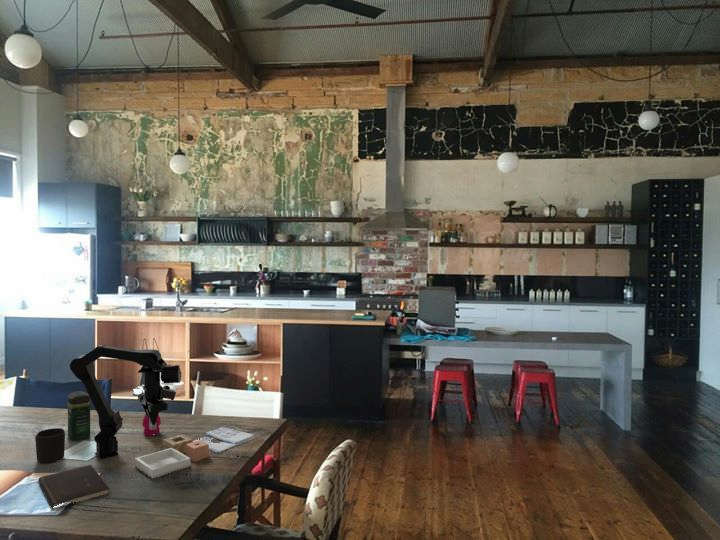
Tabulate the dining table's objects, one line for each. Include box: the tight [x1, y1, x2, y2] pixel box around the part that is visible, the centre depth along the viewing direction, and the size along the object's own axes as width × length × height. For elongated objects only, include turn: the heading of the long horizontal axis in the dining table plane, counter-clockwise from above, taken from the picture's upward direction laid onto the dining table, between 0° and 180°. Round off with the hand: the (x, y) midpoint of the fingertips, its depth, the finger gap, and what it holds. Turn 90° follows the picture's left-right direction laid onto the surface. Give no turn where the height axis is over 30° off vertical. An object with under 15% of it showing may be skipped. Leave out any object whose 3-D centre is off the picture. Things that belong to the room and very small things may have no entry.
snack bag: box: [193, 426, 255, 454], centre depth 211 cm, size 19×20×2 cm
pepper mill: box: [141, 412, 162, 436], centre depth 218 cm, size 7×7×20 cm
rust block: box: [185, 440, 210, 462], centre depth 194 cm, size 6×6×5 cm
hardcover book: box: [37, 464, 110, 509], centre depth 169 cm, size 16×23×2 cm
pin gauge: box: [149, 418, 156, 430], centre depth 197 cm, size 2×2×8 cm
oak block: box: [162, 433, 194, 454], centre depth 201 cm, size 8×8×4 cm
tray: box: [134, 448, 192, 480], centre depth 186 cm, size 14×14×3 cm
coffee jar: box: [67, 390, 91, 441], centre depth 212 cm, size 10×8×19 cm
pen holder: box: [34, 427, 66, 465], centre depth 191 cm, size 9×9×10 cm
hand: (152, 424), depth 197 cm, fingers closed on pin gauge, 2 cm apart
